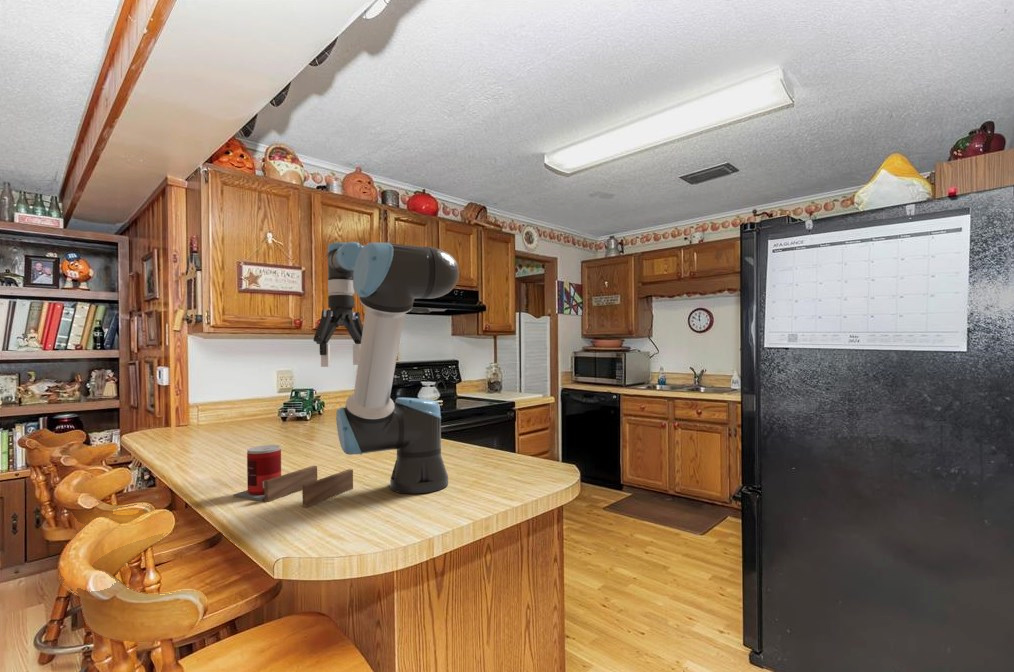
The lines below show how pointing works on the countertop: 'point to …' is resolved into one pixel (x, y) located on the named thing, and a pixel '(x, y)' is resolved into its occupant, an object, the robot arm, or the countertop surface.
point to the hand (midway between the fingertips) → (342, 365)
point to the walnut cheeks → (308, 485)
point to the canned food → (262, 467)
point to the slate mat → (249, 496)
